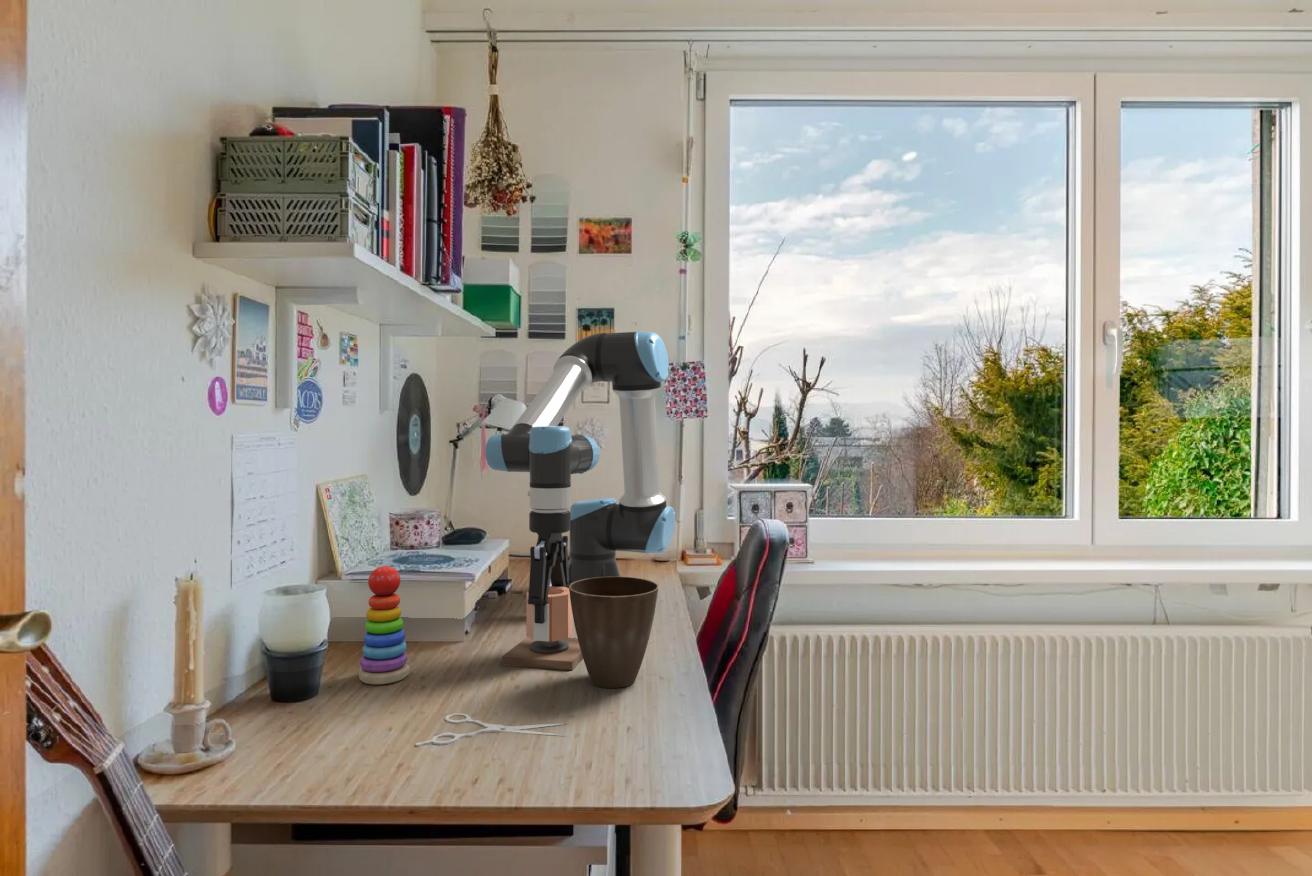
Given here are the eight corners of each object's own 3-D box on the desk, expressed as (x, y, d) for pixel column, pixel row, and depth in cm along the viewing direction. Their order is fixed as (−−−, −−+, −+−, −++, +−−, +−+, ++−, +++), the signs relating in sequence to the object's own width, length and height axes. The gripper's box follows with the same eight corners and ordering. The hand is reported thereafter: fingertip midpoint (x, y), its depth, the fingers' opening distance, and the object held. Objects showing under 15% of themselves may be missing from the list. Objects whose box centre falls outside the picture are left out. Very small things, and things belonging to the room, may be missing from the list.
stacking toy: (418, 677, 123) (418, 566, 123) (372, 690, 118) (372, 573, 117) (395, 666, 129) (395, 560, 128) (350, 677, 123) (350, 566, 122)
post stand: (529, 642, 143) (529, 586, 143) (593, 647, 140) (593, 590, 140) (502, 664, 130) (502, 602, 130) (572, 670, 128) (572, 607, 127)
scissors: (438, 712, 108) (573, 712, 109) (438, 718, 108) (573, 717, 109) (415, 744, 98) (565, 743, 98) (415, 750, 98) (565, 749, 98)
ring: (537, 627, 140) (537, 585, 140) (577, 629, 138) (577, 587, 138) (521, 639, 132) (521, 595, 132) (563, 642, 130) (563, 597, 130)
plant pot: (573, 664, 130) (573, 575, 130) (657, 665, 130) (657, 575, 130) (563, 697, 115) (563, 596, 115) (658, 697, 116) (659, 596, 115)
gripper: (550, 502, 145) (549, 616, 146) (508, 516, 125) (507, 649, 126) (586, 504, 144) (586, 619, 145) (550, 518, 123) (549, 652, 124)
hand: (549, 632), depth 135 cm, fingers closed on ring, 8 cm apart
